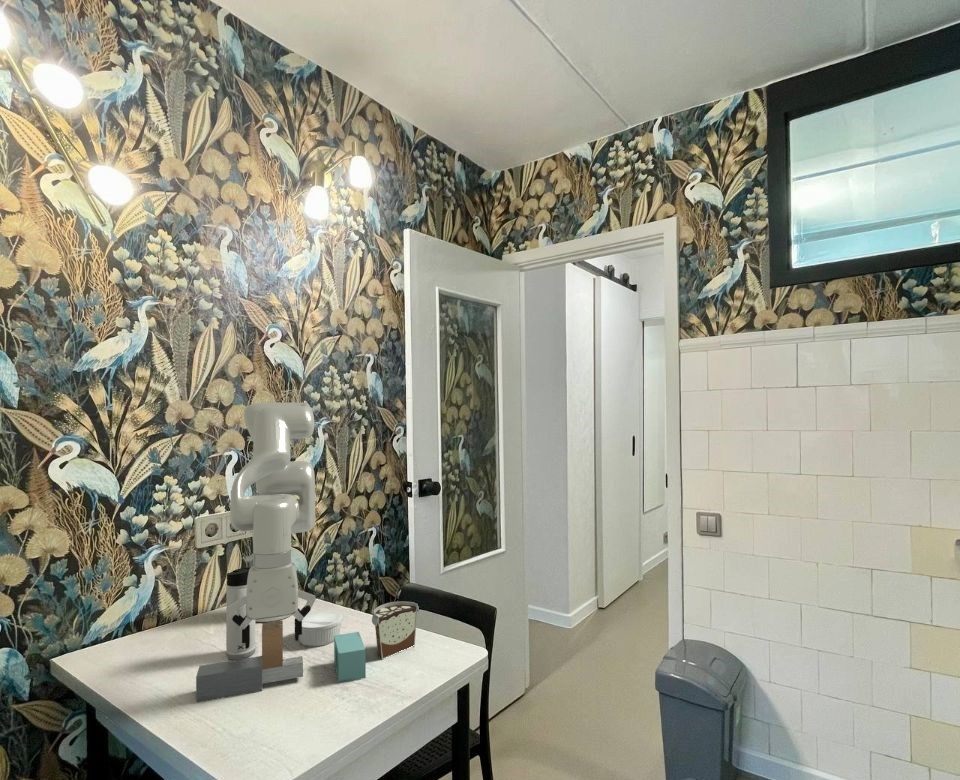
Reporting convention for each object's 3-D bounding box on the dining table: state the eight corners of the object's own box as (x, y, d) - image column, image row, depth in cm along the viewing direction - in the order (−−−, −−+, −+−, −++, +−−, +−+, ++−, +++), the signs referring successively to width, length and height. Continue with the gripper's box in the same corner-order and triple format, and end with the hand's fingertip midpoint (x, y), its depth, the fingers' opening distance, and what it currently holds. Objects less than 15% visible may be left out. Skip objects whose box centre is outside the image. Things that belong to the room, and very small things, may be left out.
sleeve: (196, 702, 108) (196, 676, 108) (199, 690, 112) (199, 665, 112) (261, 690, 112) (261, 665, 112) (262, 679, 116) (262, 655, 117)
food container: (404, 637, 137) (403, 597, 137) (419, 644, 133) (419, 602, 133) (361, 653, 128) (361, 610, 129) (376, 661, 124) (376, 616, 124)
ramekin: (297, 652, 130) (297, 629, 130) (293, 635, 140) (293, 614, 140) (345, 643, 134) (345, 621, 134) (338, 627, 144) (338, 607, 145)
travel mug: (245, 661, 125) (245, 572, 126) (220, 659, 127) (220, 571, 127) (262, 649, 131) (262, 565, 132) (237, 647, 133) (237, 563, 133)
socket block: (338, 682, 115) (338, 653, 115) (334, 662, 124) (334, 635, 124) (365, 678, 116) (365, 649, 117) (359, 658, 126) (358, 631, 126)
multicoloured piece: (202, 695, 108) (202, 638, 109) (204, 685, 112) (204, 631, 113) (303, 677, 115) (302, 624, 115) (302, 669, 119) (302, 617, 119)
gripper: (225, 568, 109) (225, 656, 108) (316, 559, 115) (316, 642, 114) (228, 559, 116) (228, 642, 115) (314, 551, 122) (314, 629, 121)
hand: (272, 642), depth 115 cm, fingers open, 9 cm apart
